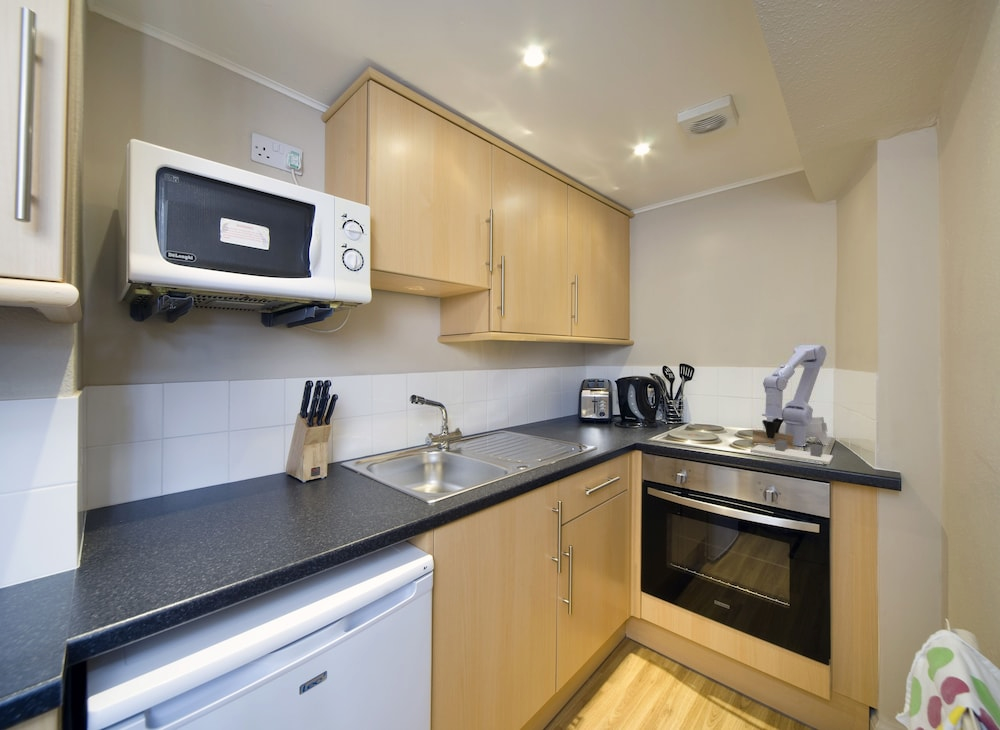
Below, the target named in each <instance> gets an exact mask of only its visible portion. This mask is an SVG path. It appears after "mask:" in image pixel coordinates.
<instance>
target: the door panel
mask: <svg viewBox="0 0 1000 730" xmlns="http://www.w3.org/2000/svg"><path fill="white" fill-rule="evenodd" d="M778 439H780V440H787V449H793V450H794V445H793V442H794V435H789V434H781V433H775V436H774V438H773V439H772V438H767V434H766V431H764V430H757V429H753V430H752V442H751V443H752V445H754V443H771V444H775V445H776V441H778Z"/></svg>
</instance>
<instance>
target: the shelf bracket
mask: <svg viewBox="0 0 1000 730" xmlns="http://www.w3.org/2000/svg"><path fill="white" fill-rule="evenodd" d="M761 422H762V428H763V431H766V429H765V426H764V424H763V420H762V421H761ZM785 428H786V423H784V421H783V422H782V424H781V426H780V429H779V433H781V434H785ZM827 433H828V426H827V422H825V419H824V416H821V417H820V416H816V417H813V416H812V420H811V422H810V423H809V424H808V425H806V439H807V438H809V437H815V438H818V441H819V440H820V441H821V442H822V444H824V445H826V446H825V447H830V445H829V439H828V434H827ZM822 444H821V445H822ZM824 445H823V446H824ZM827 445H828V446H827Z"/></svg>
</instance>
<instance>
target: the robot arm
mask: <svg viewBox="0 0 1000 730" xmlns="http://www.w3.org/2000/svg"><path fill="white" fill-rule="evenodd" d="M826 357H827V350H826V347H825V346H824V345H823V344H798V345H796V346H795V348H794V349H793V354H792V355H791V357H790V358H789V359H788V361H787V362H786V364H780V366H778V368H777V369H776V370H775V371H774V372H773V373H772V374H771V375H768V376H766V377H765V378H764V380H763V382H762V387H763V388H764V393H765V409H764V411H765V412H764V413H761V416H762V417H765V418H766V419H762V421H763V423H762V425H763V424H764V426H765V429H766V434H767V438H772V439H773V438H774V436H775V433H779V429H780V426H781V424H782V422H783V421H784V423H786V428H785V434H789V435H794V442H793V446H794V447H795V446H797V447H802V448H803V446H804V444H805V443H806V442H807V440H806V425H808V424H809V423H810V422H811V420H812V418H813V413H814V412H813V411H814V409H813V408H812V406H810V405H809V401H810V400H811V399H810V398H811V395H812V392H813V389H814V387H815V384H816V382H817V378H818V374H819V372H820V370H821V367H823V365H824V362H825V359H826ZM799 365H800V366H802V367H803V371H802V375H801V377H800V380H799V383H798V385H797V388H796V390H795V393H794V396H793V399H792V400H791V401H789V402H786V403H785V405H784V407H783V395H784V390H785V389H787V386H788V383H789V380H790V379H791V378H792V377H793V376H794V375H795V373H796V372H795V371H796V370H795V369H796V368H797V367H798V366H799Z"/></svg>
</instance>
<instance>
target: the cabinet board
mask: <svg viewBox="0 0 1000 730" xmlns="http://www.w3.org/2000/svg"><path fill="white" fill-rule="evenodd" d="M823 446H824V445H822V444H814V443H812V445H811V446H810V451H806V450H805V451H804V450H799V449H794V448H793V449H787V440H780V439H778V441H776V445H775V447H769V446H765V445H759V444H758V445H754V446H753V447H752V448H751V449H750V453H756V454H760V455H761V454H762V455H765V456H766V455H768V456H774V457H780V458H786V459H793V460H797V459H798V461H803V460H808V461H807V462H810V461H818V462H822V463H824V465H830V464H831V462H832V460H833V458H834V455H833V454H825V453H823V451H824V450H823V449H824V447H823ZM822 463H821V464H822Z"/></svg>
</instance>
